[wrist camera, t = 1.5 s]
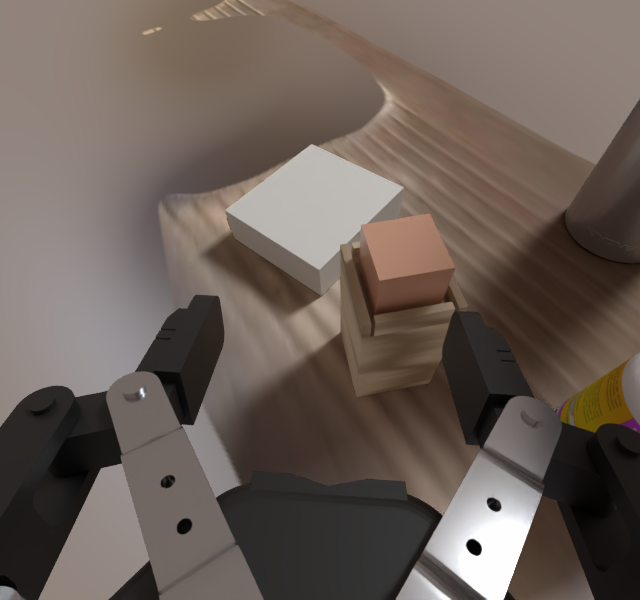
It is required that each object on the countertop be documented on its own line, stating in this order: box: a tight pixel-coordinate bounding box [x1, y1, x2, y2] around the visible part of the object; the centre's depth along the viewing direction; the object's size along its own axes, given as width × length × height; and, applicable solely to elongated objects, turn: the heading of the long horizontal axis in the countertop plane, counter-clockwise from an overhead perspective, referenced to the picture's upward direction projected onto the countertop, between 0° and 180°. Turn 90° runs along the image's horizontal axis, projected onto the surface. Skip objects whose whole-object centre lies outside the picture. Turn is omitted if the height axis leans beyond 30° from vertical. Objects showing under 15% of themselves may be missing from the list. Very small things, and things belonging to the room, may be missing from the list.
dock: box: [225, 144, 404, 296], centre depth 39 cm, size 13×12×4 cm
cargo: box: [359, 214, 455, 317], centre depth 22 cm, size 4×4×4 cm
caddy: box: [340, 241, 468, 397], centre depth 27 cm, size 6×6×12 cm
